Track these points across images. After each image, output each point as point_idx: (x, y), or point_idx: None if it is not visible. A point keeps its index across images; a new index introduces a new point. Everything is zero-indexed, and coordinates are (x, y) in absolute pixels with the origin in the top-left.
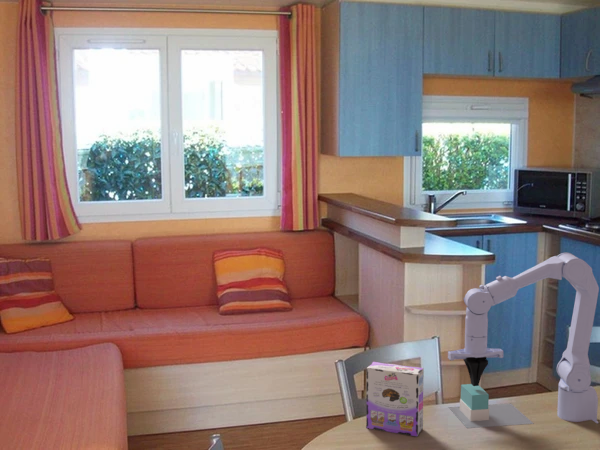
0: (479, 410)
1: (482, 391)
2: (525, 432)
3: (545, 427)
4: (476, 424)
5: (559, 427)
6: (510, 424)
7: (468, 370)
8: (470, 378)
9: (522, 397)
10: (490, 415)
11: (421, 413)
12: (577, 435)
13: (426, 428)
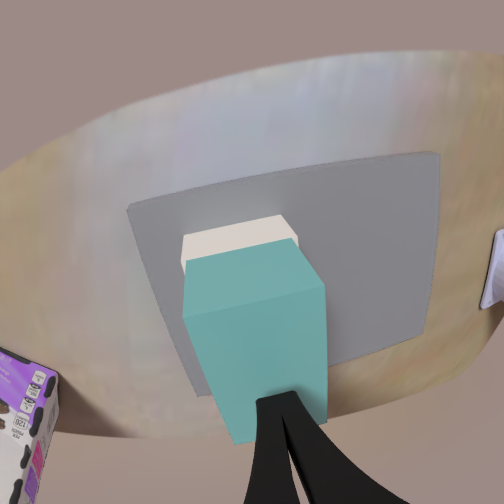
0: None
1: (309, 402)
2: (378, 361)
3: (441, 319)
4: None
5: (467, 312)
6: (355, 354)
7: (250, 492)
8: (257, 432)
9: (481, 65)
10: None
11: (44, 436)
12: (468, 345)
13: (66, 367)
